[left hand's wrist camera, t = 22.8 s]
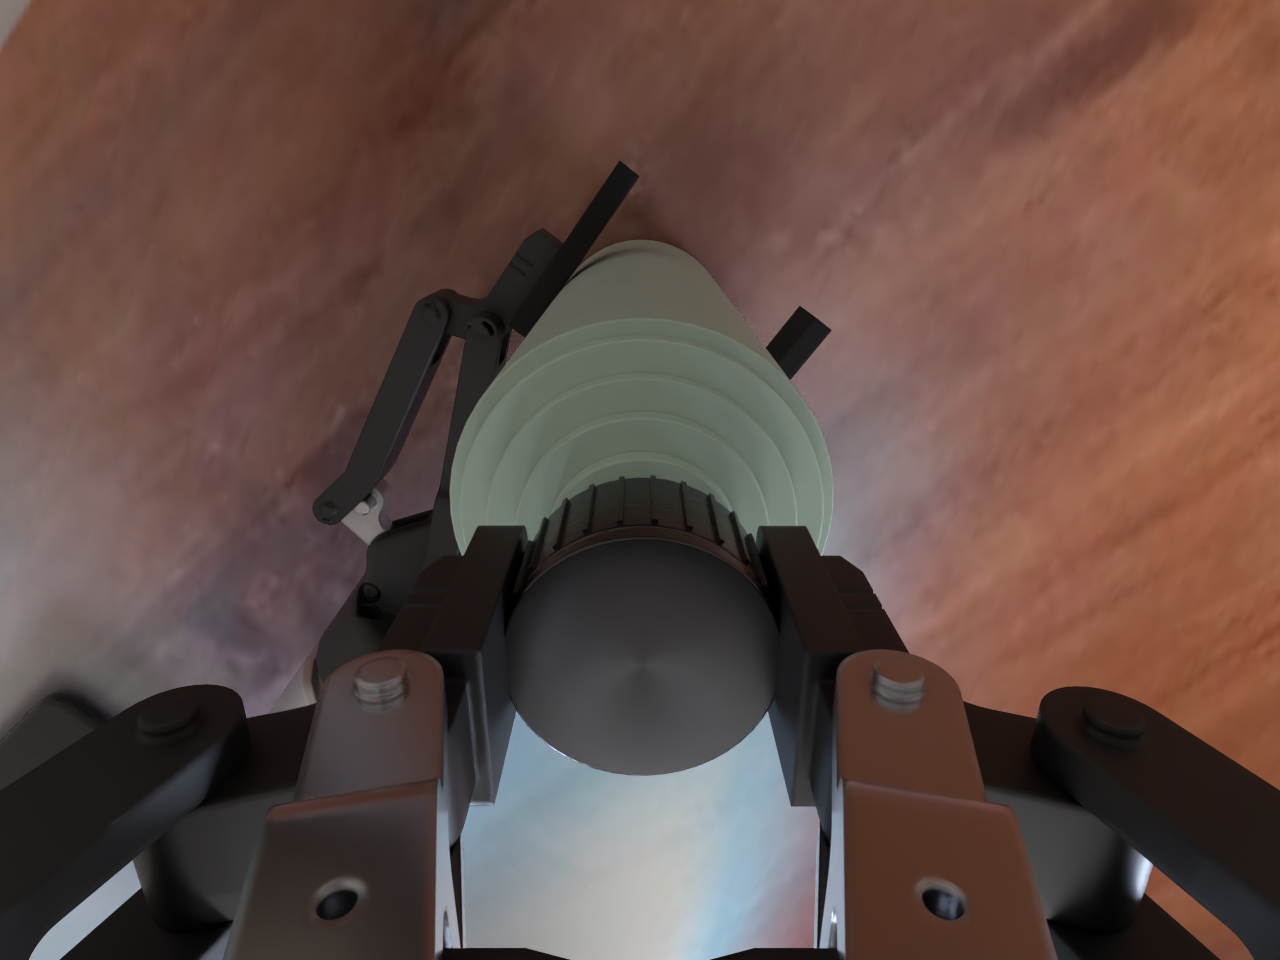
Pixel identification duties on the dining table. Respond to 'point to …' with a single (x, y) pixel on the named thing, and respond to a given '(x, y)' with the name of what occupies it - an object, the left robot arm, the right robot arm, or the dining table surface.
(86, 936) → the left robot arm
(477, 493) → the bottle
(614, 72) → the dining table surface
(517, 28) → the dining table surface
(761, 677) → the cap
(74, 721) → the smartphone
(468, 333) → the right robot arm
